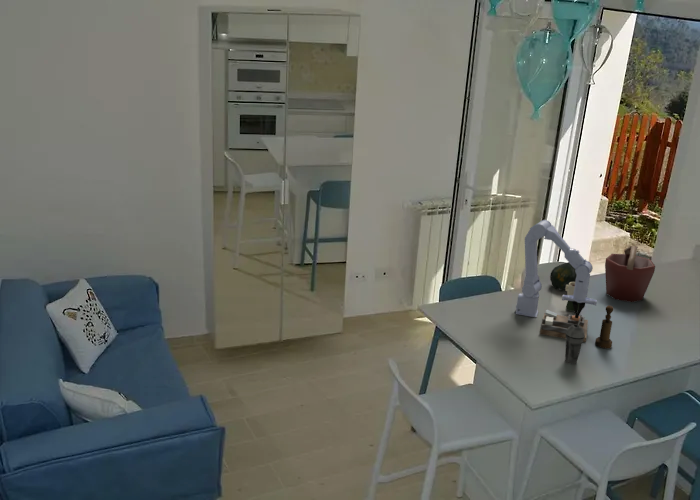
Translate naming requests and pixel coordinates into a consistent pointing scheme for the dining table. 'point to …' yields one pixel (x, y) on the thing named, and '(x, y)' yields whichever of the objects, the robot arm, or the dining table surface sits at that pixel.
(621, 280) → the bucket
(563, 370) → the dining table surface
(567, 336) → the beverage cup
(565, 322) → the panel
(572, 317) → the push button
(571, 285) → the character mug
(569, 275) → the squash
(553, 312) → the grey flat tile
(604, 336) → the brown chess piece
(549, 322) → the slider knob
